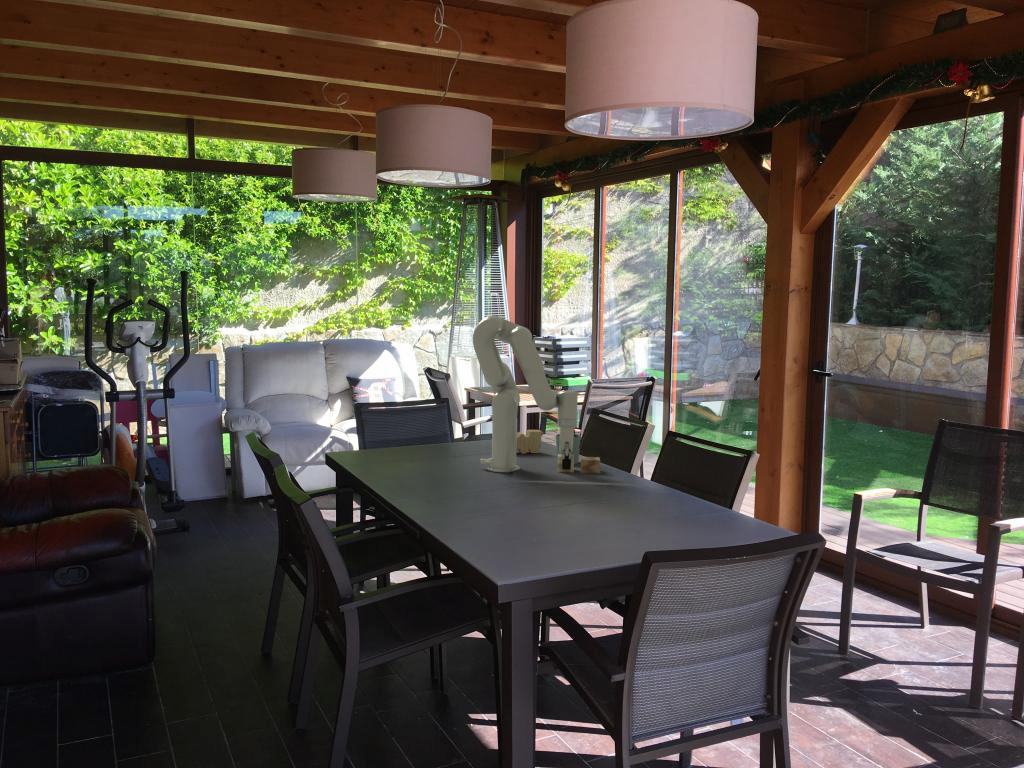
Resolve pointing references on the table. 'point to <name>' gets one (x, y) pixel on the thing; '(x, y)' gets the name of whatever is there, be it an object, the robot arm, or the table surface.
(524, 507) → the table surface
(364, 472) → the table surface
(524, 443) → the toy train
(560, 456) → the birch cube
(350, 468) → the table surface
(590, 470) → the walnut base block
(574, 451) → the green cup
